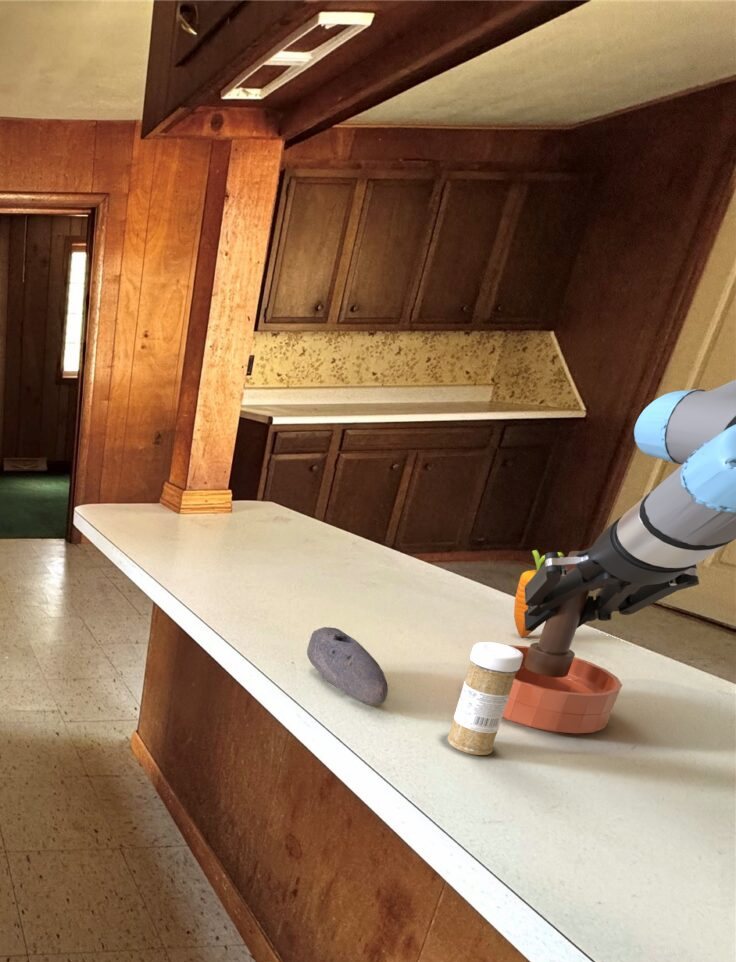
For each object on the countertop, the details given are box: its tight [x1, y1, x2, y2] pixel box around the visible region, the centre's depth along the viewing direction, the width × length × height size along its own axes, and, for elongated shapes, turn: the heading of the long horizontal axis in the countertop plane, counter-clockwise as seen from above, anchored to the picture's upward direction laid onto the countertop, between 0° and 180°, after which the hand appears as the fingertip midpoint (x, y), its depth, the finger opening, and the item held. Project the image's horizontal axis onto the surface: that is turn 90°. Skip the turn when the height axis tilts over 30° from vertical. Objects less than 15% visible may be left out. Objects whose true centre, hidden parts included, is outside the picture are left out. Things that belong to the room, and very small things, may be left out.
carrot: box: [513, 549, 565, 638], centre depth 106 cm, size 5×5×15 cm
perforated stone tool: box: [306, 626, 389, 707], centre depth 94 cm, size 15×5×7 cm, turn 1°
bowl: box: [502, 644, 623, 734], centre depth 88 cm, size 14×14×6 cm
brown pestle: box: [524, 550, 591, 677], centre depth 84 cm, size 4×4×16 cm
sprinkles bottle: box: [446, 641, 523, 756], centre depth 79 cm, size 5×5×13 cm
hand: (545, 623), depth 88 cm, fingers closed on brown pestle, 3 cm apart
